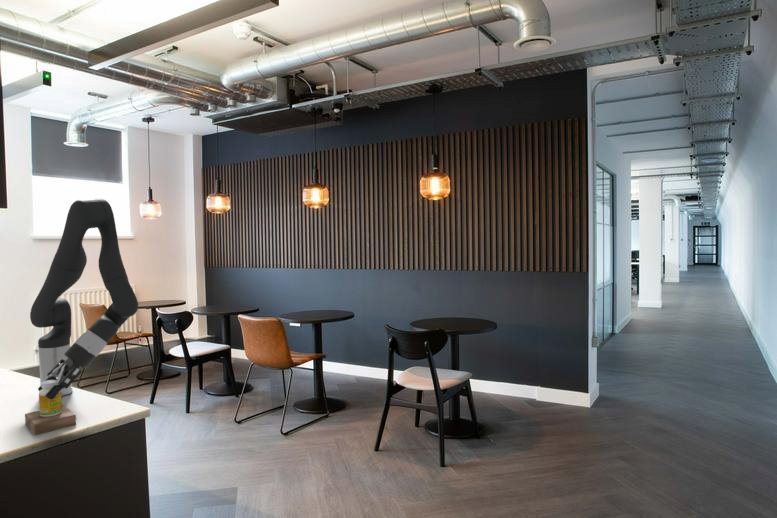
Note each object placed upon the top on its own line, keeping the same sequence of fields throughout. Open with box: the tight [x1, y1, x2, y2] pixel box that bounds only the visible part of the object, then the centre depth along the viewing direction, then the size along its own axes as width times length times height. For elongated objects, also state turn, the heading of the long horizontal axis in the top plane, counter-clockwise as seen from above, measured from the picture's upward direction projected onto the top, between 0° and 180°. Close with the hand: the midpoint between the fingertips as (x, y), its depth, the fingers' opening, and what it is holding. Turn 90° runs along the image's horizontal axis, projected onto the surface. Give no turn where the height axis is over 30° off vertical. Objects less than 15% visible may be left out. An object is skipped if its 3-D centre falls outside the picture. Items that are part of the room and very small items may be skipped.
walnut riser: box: [24, 404, 77, 436], centre depth 149 cm, size 12×10×3 cm
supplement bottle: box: [38, 380, 62, 417], centre depth 149 cm, size 5×5×10 cm
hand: (44, 394), depth 148 cm, fingers open, 8 cm apart
